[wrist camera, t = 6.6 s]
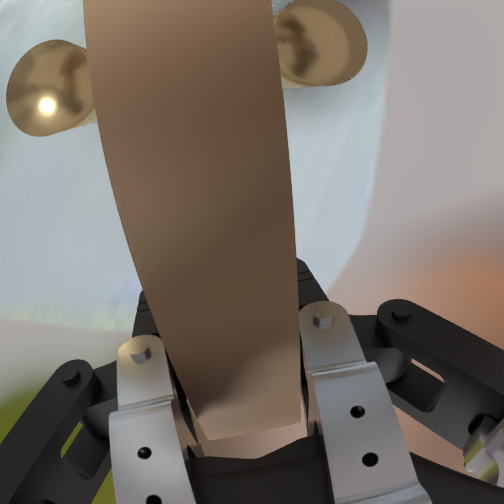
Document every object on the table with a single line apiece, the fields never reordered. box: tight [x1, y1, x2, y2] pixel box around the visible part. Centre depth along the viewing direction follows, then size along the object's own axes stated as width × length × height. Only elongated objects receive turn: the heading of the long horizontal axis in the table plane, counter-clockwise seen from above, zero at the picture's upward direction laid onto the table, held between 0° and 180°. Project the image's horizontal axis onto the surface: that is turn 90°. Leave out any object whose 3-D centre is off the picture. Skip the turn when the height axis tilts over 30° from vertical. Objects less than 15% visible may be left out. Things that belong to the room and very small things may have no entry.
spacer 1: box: [6, 40, 97, 137], centre depth 13 cm, size 4×4×9 cm
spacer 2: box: [273, 0, 367, 89], centre depth 14 cm, size 4×4×9 cm
